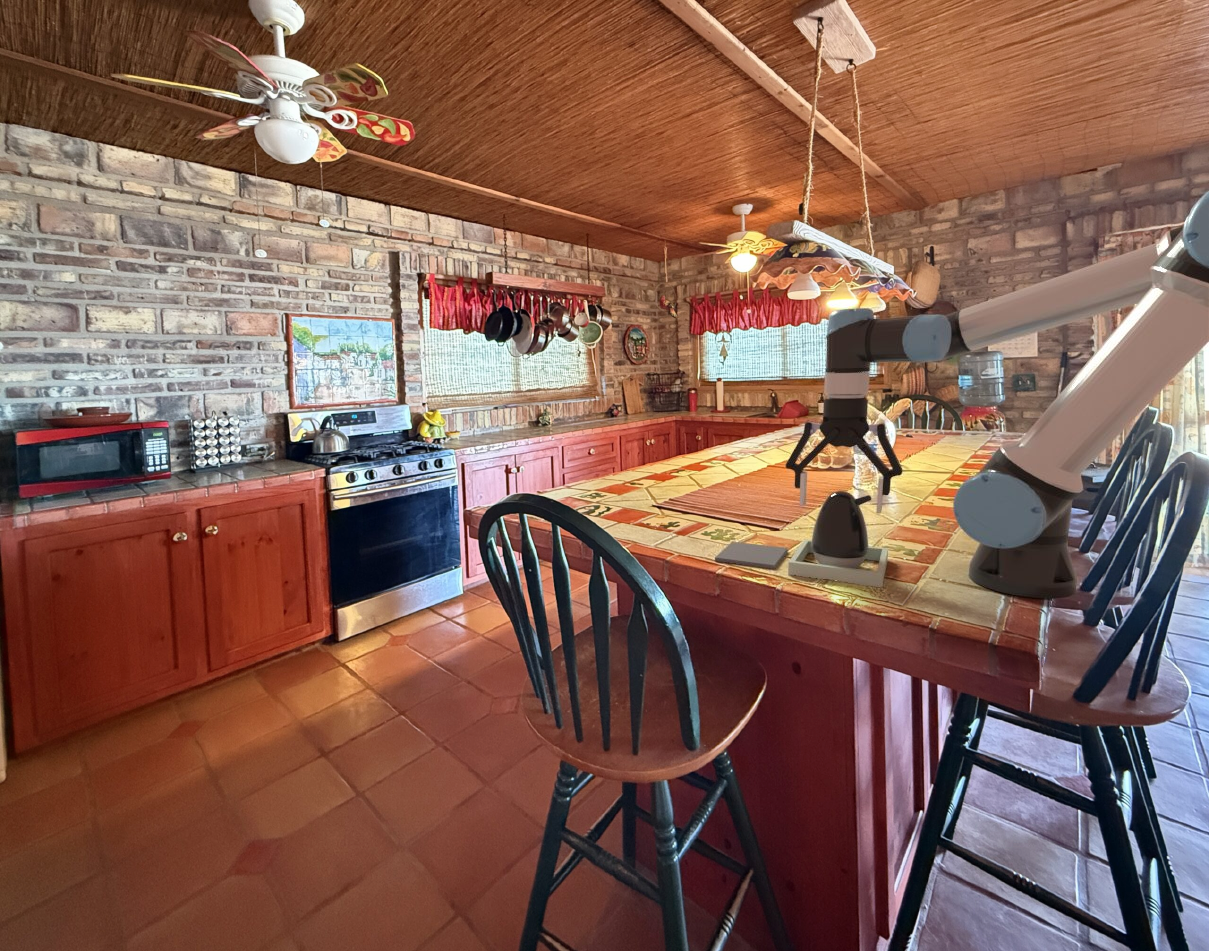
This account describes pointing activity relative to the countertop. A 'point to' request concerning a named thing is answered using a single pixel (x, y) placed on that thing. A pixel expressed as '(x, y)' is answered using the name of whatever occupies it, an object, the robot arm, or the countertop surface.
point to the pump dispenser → (841, 531)
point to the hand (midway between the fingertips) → (839, 508)
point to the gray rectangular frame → (836, 572)
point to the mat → (752, 555)
